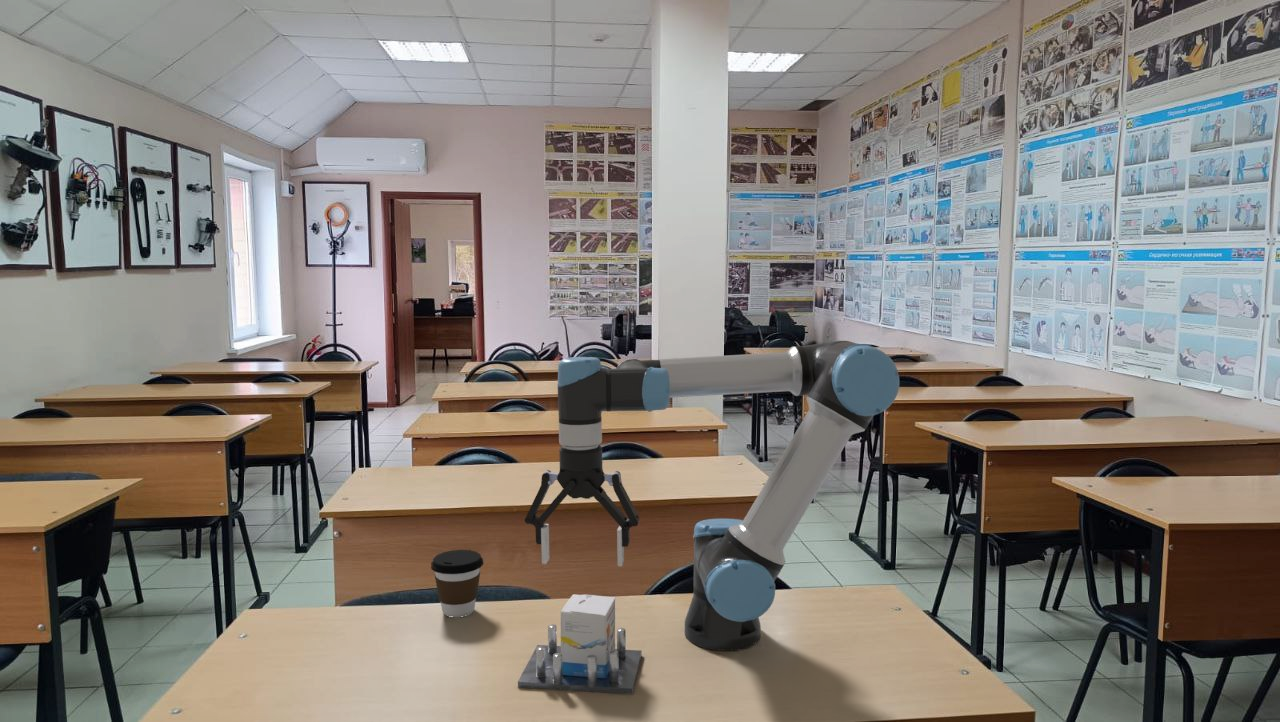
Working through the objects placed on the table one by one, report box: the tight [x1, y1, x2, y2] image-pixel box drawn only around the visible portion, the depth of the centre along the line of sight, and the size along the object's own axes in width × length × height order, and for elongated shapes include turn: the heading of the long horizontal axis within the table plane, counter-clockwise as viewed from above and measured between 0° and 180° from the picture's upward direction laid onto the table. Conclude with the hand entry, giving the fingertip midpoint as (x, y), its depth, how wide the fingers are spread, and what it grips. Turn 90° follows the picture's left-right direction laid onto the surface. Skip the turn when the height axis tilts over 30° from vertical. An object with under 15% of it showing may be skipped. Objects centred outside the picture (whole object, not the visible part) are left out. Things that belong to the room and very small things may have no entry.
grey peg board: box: [517, 624, 642, 695], centre depth 141 cm, size 20×15×6 cm
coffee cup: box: [430, 549, 484, 617], centre depth 166 cm, size 11×11×12 cm
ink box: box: [560, 593, 616, 678], centre depth 141 cm, size 9×8×12 cm
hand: (583, 562), depth 140 cm, fingers open, 13 cm apart
